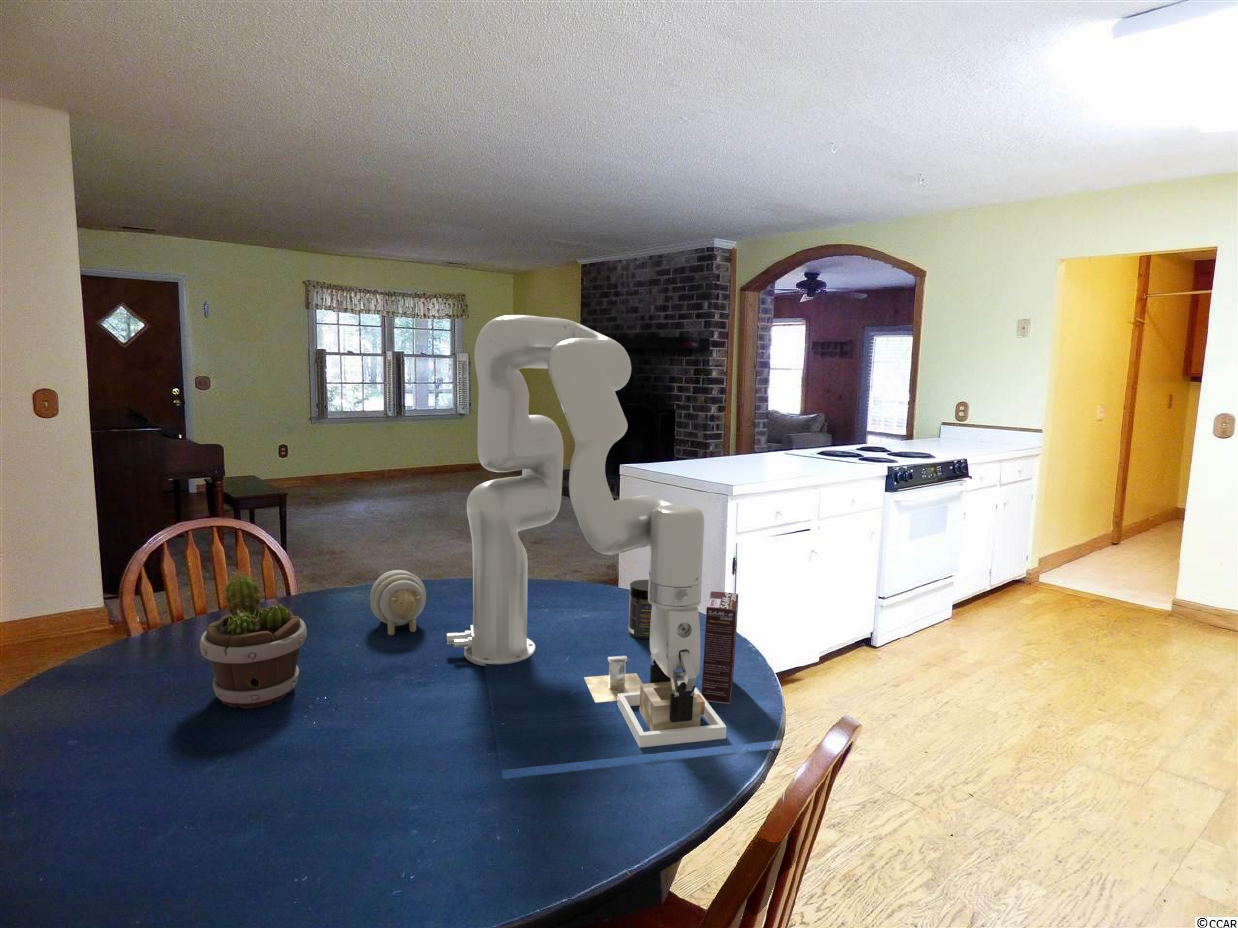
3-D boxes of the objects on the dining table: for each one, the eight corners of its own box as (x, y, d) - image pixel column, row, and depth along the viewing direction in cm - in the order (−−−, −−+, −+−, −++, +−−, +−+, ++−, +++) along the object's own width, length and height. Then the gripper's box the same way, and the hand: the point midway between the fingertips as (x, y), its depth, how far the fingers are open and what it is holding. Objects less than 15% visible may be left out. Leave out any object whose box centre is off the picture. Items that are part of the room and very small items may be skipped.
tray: (639, 752, 100) (639, 735, 100) (617, 709, 112) (617, 693, 112) (725, 743, 103) (726, 726, 103) (695, 701, 115) (695, 686, 115)
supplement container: (670, 640, 140) (672, 587, 139) (639, 646, 137) (641, 592, 135) (651, 628, 146) (652, 577, 144) (621, 634, 143) (623, 582, 141)
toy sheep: (382, 645, 134) (380, 586, 132) (359, 616, 148) (358, 563, 146) (438, 635, 139) (438, 578, 138) (412, 608, 154) (411, 556, 152)
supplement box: (731, 708, 114) (736, 610, 111) (700, 705, 114) (704, 607, 112) (734, 684, 122) (739, 592, 120) (704, 681, 123) (709, 590, 120)
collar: (709, 729, 106) (711, 700, 105) (653, 735, 104) (654, 705, 103) (692, 707, 112) (694, 679, 112) (639, 712, 110) (640, 684, 110)
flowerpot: (327, 694, 115) (323, 570, 112) (221, 728, 103) (214, 591, 100) (287, 665, 124) (282, 550, 121) (187, 694, 113) (179, 568, 110)
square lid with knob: (595, 707, 113) (596, 671, 112) (583, 681, 121) (584, 648, 120) (651, 702, 115) (652, 667, 114) (636, 677, 124) (637, 644, 123)
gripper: (722, 610, 97) (715, 731, 100) (680, 572, 114) (675, 676, 117) (668, 614, 96) (663, 736, 98) (633, 574, 112) (630, 680, 115)
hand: (670, 704), depth 107 cm, fingers open, 9 cm apart
